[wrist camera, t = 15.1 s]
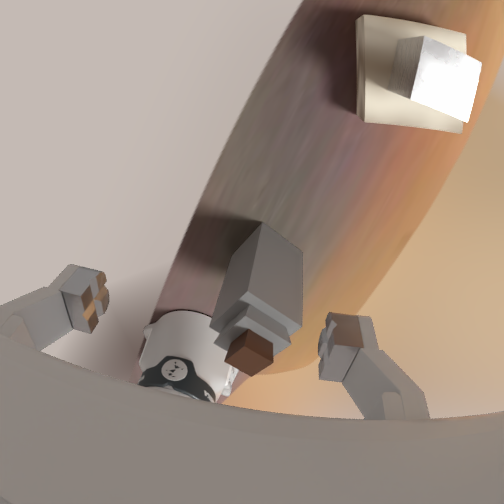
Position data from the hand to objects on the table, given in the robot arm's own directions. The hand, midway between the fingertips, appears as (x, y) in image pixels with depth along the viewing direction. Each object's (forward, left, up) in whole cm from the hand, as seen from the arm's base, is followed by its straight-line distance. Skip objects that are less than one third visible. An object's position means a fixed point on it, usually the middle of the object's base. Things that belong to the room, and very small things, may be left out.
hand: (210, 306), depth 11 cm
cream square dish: (+10, -14, -29) cm, 33 cm away
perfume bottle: (-16, -2, -28) cm, 33 cm away
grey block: (+10, -14, -23) cm, 29 cm away
